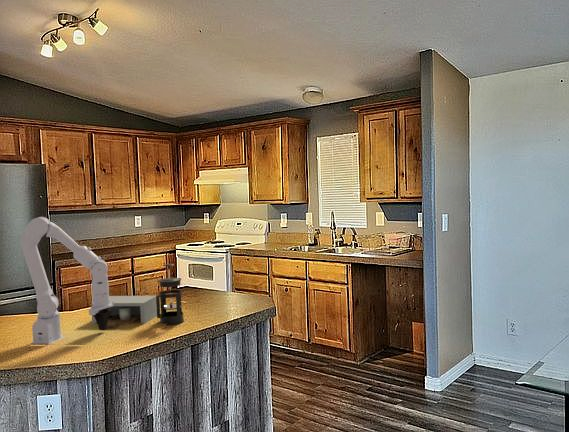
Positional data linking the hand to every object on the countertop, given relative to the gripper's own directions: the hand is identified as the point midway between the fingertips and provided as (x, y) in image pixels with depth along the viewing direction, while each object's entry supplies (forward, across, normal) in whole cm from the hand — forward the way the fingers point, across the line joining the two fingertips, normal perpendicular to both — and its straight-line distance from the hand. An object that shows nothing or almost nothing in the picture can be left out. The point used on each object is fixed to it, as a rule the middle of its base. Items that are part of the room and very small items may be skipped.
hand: (102, 329), depth 191 cm
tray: (+2, +13, 0) cm, 13 cm away
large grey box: (+2, +18, 0) cm, 19 cm away
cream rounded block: (+1, +18, 0) cm, 18 cm away
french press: (+2, +16, -20) cm, 26 cm away
